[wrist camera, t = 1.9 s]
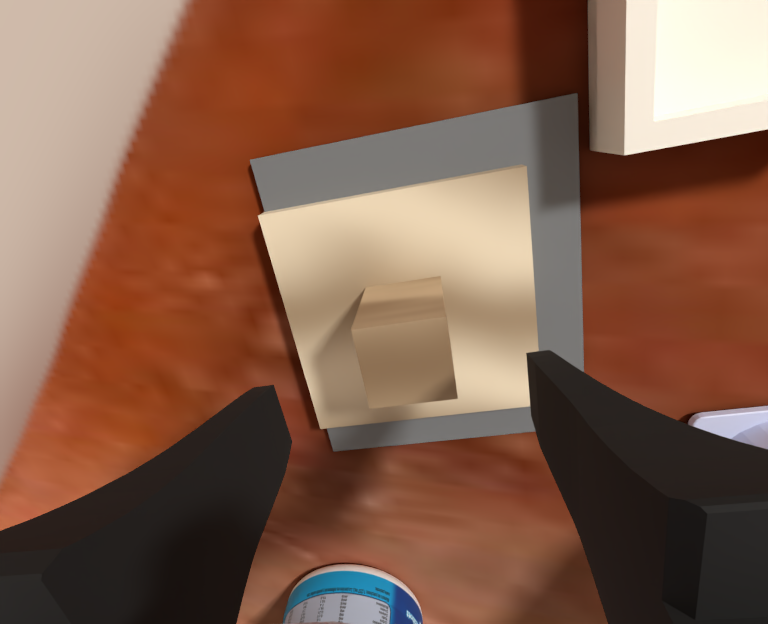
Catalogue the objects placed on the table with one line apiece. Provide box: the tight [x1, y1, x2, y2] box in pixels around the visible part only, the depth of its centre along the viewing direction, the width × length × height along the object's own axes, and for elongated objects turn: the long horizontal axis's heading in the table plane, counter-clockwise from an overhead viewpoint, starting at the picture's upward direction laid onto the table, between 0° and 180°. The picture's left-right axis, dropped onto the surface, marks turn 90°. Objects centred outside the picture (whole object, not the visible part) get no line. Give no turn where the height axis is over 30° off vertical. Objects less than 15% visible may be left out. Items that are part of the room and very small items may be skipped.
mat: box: [250, 93, 584, 452], centre depth 19 cm, size 14×12×1 cm
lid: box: [258, 164, 539, 429], centre depth 16 cm, size 10×10×5 cm
